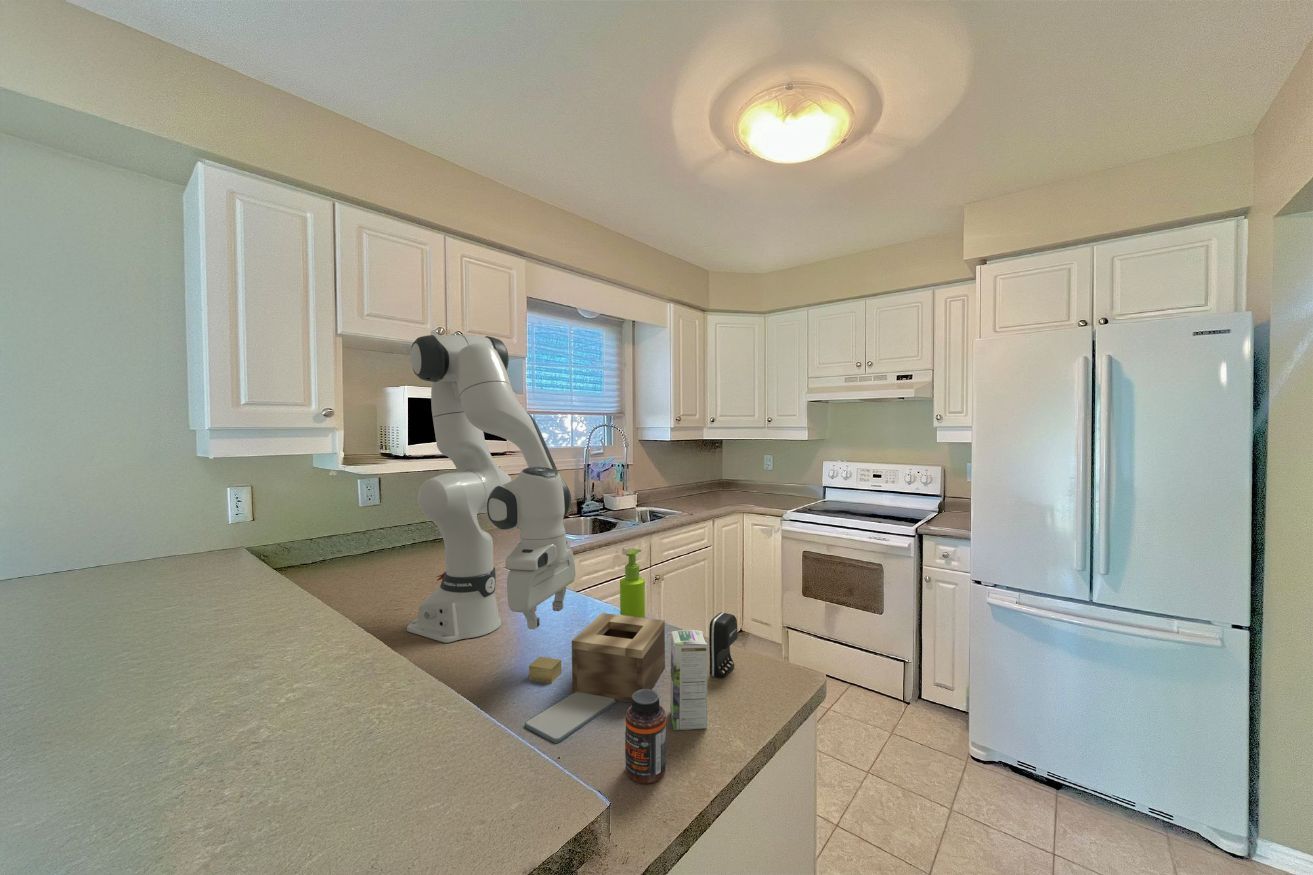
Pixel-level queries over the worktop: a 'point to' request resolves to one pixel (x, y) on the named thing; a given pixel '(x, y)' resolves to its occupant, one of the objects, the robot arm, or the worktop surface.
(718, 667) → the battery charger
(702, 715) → the syrup box
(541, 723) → the smartphone
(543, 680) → the pale yellow block
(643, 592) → the soap dispenser
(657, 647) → the box
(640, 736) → the supplement bottle
